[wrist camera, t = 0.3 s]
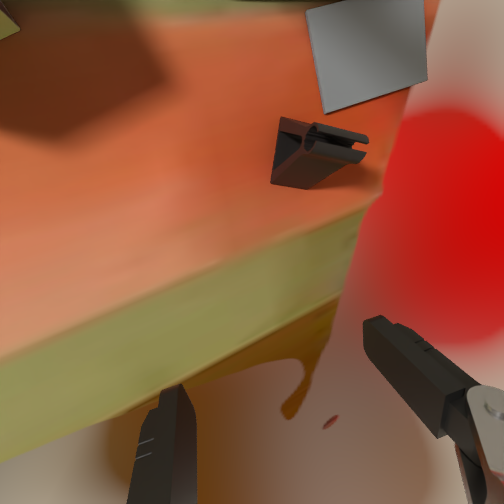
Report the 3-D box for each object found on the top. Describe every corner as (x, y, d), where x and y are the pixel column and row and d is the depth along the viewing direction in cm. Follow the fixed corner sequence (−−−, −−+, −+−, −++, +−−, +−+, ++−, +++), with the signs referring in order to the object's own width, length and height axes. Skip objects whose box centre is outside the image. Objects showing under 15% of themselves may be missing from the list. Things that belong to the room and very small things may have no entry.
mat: (305, 12, 31) (306, 9, 30) (419, -16, 33) (422, -19, 33) (324, 114, 35) (325, 113, 34) (424, 81, 37) (427, 80, 37)
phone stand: (280, 117, 33) (327, 83, 22) (318, 126, 35) (379, 100, 24) (269, 183, 35) (308, 183, 24) (305, 189, 37) (357, 192, 26)
